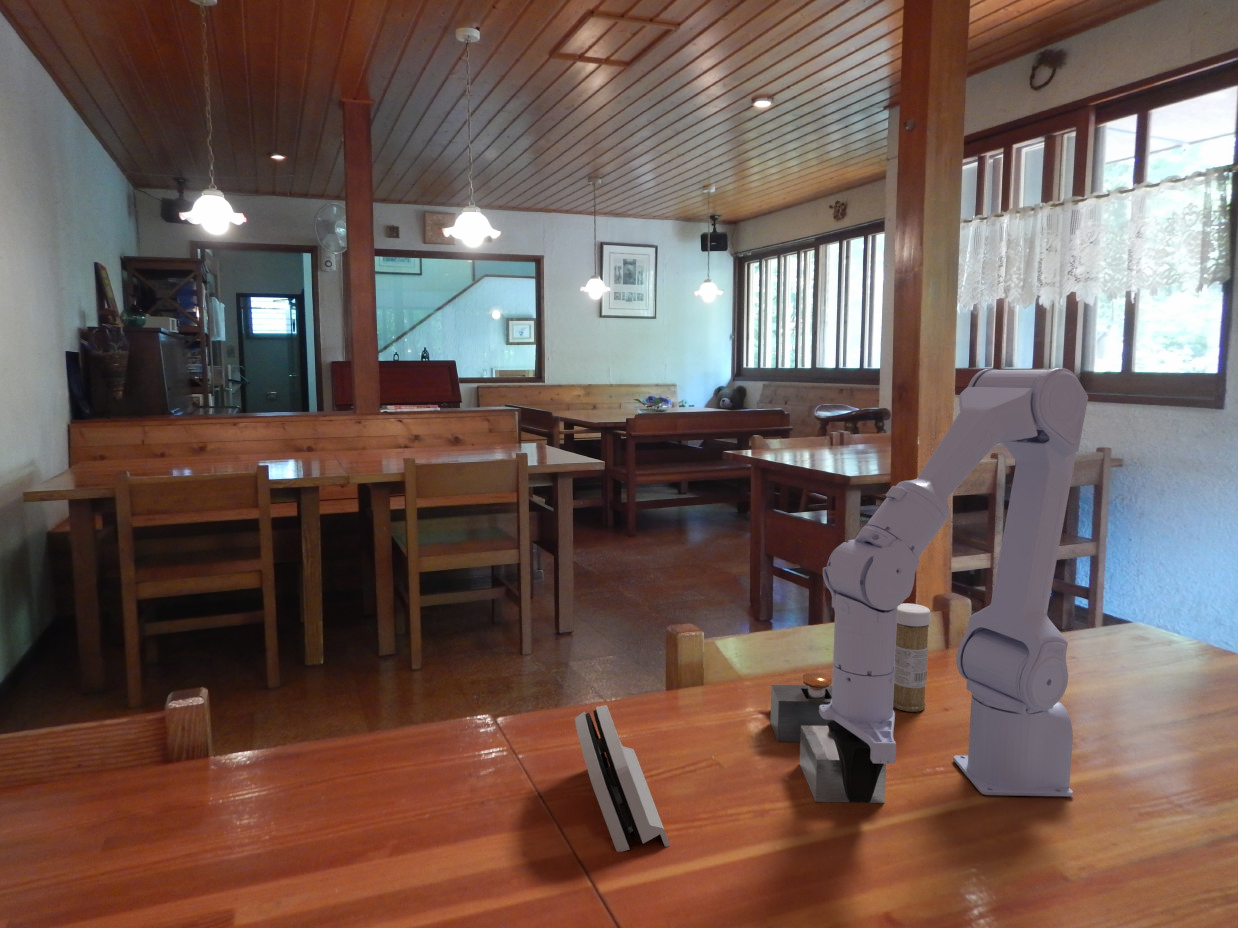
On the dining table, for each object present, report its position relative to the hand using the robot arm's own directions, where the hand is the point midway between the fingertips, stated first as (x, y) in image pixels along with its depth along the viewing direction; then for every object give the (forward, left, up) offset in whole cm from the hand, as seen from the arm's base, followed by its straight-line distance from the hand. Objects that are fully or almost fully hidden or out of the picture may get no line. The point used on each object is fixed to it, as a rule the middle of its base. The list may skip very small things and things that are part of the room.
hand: (858, 798), depth 79 cm
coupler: (0, -19, -2) cm, 19 cm away
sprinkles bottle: (-14, -27, -2) cm, 31 cm away
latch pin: (0, -18, +1) cm, 19 cm away
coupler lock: (0, -7, -2) cm, 7 cm away
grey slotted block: (+24, -2, -2) cm, 24 cm away
